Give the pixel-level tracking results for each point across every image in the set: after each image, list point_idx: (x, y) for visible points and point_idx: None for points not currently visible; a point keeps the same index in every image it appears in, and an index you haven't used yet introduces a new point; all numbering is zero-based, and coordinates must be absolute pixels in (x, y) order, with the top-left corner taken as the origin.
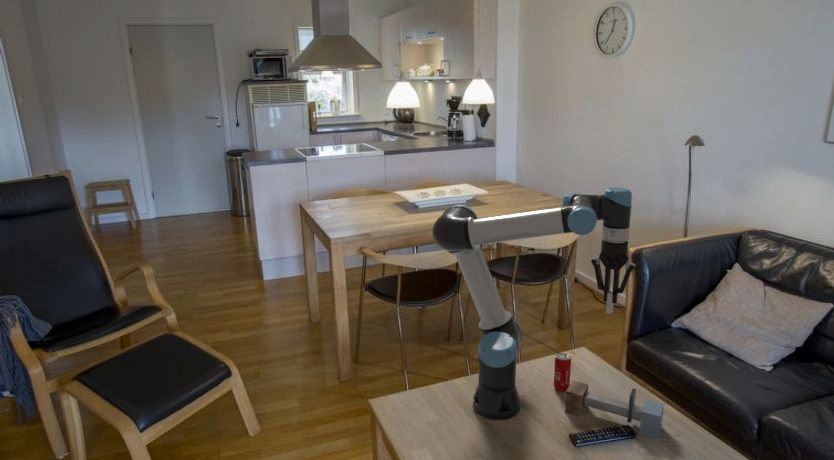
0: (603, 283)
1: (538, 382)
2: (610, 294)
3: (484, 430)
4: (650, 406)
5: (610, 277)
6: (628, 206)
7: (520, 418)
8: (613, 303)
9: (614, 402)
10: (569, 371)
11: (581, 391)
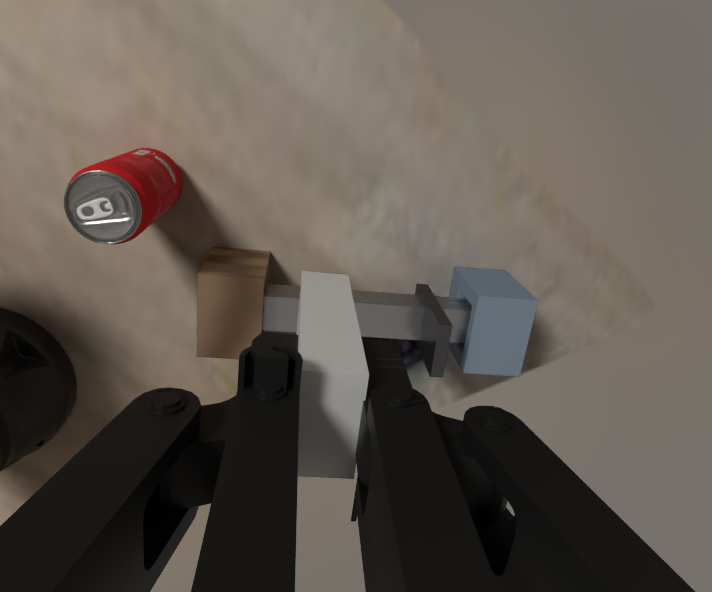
0: (181, 436)
1: (54, 173)
2: (329, 472)
3: (28, 492)
4: (492, 332)
5: (294, 554)
6: None
7: (95, 405)
8: (354, 306)
9: (370, 321)
10: (162, 206)
11: (250, 336)
